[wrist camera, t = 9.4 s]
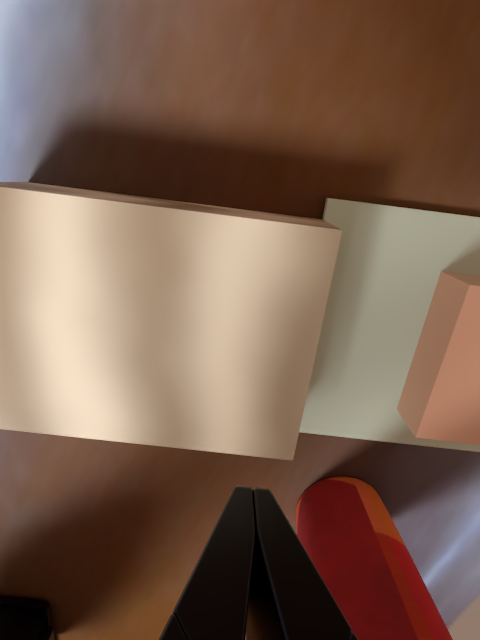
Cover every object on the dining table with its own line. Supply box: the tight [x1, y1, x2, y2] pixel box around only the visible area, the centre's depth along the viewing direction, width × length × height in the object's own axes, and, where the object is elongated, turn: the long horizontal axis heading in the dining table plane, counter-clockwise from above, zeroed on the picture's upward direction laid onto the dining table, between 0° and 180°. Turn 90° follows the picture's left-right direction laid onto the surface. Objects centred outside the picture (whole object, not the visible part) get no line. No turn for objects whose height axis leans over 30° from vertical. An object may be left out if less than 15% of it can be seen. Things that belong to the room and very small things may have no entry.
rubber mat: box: [299, 198, 480, 452], centre depth 20 cm, size 13×13×1 cm
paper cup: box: [296, 476, 452, 640], centre depth 18 cm, size 8×8×14 cm
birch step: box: [0, 182, 342, 461], centre depth 18 cm, size 14×11×4 cm
